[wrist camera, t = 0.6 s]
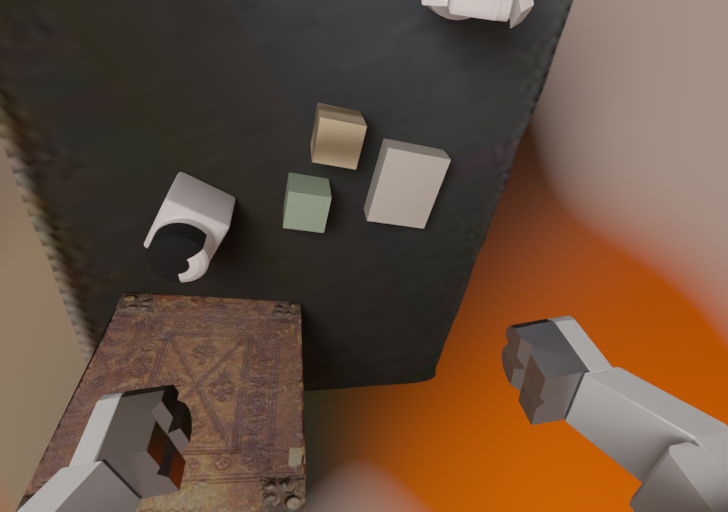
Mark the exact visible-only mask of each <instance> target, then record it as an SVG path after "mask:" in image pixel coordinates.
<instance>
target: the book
mask: <svg viewBox="0 0 728 512" xmlns="http://www.w3.org/2000/svg"><path fill="white" fill-rule="evenodd" d="M165 385H174V386H175V387H176V389H177V390H178V392H179V395H178V399H177V400H179V401H181V402H184V403H186V405H187V406H188V408H189V410H190V413H191V417H192V433H191V439H190V443H189V444H188V445H187V447H186V448H185V449H184V450H183V452H182V453H181V454H182V456H183V458H184V459H185V461H186V463H185V468H184V473H183V477H182V482H181V487H180V491H178V492H173V493H168V494H164V495H159V496H155V497H150V498H145V499H141V501H142V502H141V503H140V505H139V506H138V508H137V509H136V511H135V512H305V511H306V471H305V437H304V401H303V365H302V330H301V304H300V303H298V302H287V301H270V300H252V299H234V298H217V297H199V296H181V295H164V294H146V293H128V292H124V293H123V294H122V296H121V298H120V300H119V302H118V304H117V306H116V308H115V310H114V312H113V314H112V316H111V319H110V321H109V323H108V325H107V327H106V329H105V331H104V333H103V335H102V337H101V339H100V341H99V343H98V345H97V347H96V349H95V351H94V353H93V355H92V357H91V359H90V361H89V363H88V365H87V367H86V369H85V372H84V374H83V376H82V378H81V380H80V382H79V384H78V386H77V388H76V390H75V392H74V394H73V396H72V398H71V400H70V402H69V404H68V406H67V408H66V410H65V412H64V414H63V416H62V418H61V420H60V422H59V424H58V427H57V428H56V430H55V432H54V435H53V437H52V439H51V441H50V443H49V445H48V447H47V449H46V451H45V453H44V455H43V457H42V459H41V461H40V463H39V465H38V467H37V469H36V471H35V473H34V475H33V477H32V479H31V482H30V483H29V485H28V487H27V490H26V491H25V494H24V495H23V497H22V499H21V502H20V504H19V506H18V508H17V510H16V512H17V511H18V510H19V509H20V508H21V507H22V506H23V505H24V504H25V503H26V502H27V501H28V500H29V499H30V498H31V497H32V496H33V495H34V494H35V493H37V492H38V491H39V490H40V489H41V488H42V487H43V486H44V485H45V484H46V483H47V482H48V481H49V480H50V479H51V478H52V477H53V476H54V475H55V474H56V473H57V472H58V471H59V470H60V469H61V468H64V467H69V464H70V462H71V460H72V458H73V455H74V453H75V451H76V448H77V446H78V444H79V442H80V439H81V437H82V435H83V433H84V430H85V428H86V426H87V423H88V421H89V419H90V417H91V414H92V412H93V410H94V407H95V405H96V403H97V401H98V400H99V399H100V398H101V397H102V396H103V395H106V394H112V393H118V392H124V391H131V390H138V389H145V388H151V387H158V386H165Z"/></svg>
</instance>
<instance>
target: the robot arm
mask: <svg viewBox="0 0 728 512" xmlns="http://www.w3.org/2000/svg"><path fill="white" fill-rule="evenodd" d="M505 337H506V338H507V340H508V342H509V343H508V344H507V345H506V346H505V347H504V348H503V352H502V362H503V368H504V371H505V374H506V376H507V378H508V381H509V382H510V384H511V385H512V386H513V387H515V388H516V389H518V390H520V391H521V392H520V397H519V402H520V404H521V406H522V408H523V410H524V412H525V414H526V415H527V417H528V419H529V421H530V423H531V425H533V424H540V423H545V422H552V421H558V420H564V419H566V422H567V423H568V424H570V425H571V426H572V427H573V428H575V429H576V430H577V431H578V432H580V433H581V434H582V435H583V436H584V437H586V438H587V439H588V440H590V441H591V442H592V443H593V444H594V445H596V446H597V447H598V448H599V449H601V450H602V451H603V452H604V453H606V454H607V455H608V456H609V457H611V458H612V459H613V460H615V461H616V462H617V463H618V464H620V465H621V466H622V467H623V468H624V469H626V470H627V471H628V472H629V473H631V474H632V475H633V476H634V477H636V478H637V479H638V480H639V481H641V482H642V484H641V486H640V487H639V488H638V490H637V491H636V492H635V494H634V495H633V497H632V499H631V502H630V506H631V508H632V509H633V511H634V512H728V425H726V424H724V423H722V422H720V421H718V420H716V419H714V418H713V417H711V416H709V415H707V414H705V413H703V412H702V411H700V410H698V409H696V408H694V407H692V406H691V405H689V404H687V403H685V402H683V401H681V400H679V399H678V398H676V397H674V396H672V395H670V394H668V393H666V392H665V391H663V390H661V389H659V388H657V387H655V386H653V385H651V384H650V383H648V382H646V381H644V380H642V379H640V378H639V377H637V376H635V375H633V374H631V373H629V372H627V371H625V370H624V369H622V368H620V367H615V368H613V367H612V366H611V365H610V364H609V362H608V361H607V360H606V358H605V357H604V356H603V355H602V353H601V352H600V351H599V350H598V348H597V347H596V346H595V345H594V344H593V342H592V341H591V340H590V338H589V337H588V336H587V334H586V333H585V332H584V331H583V329H582V328H581V327H580V326H579V325H578V323H577V322H576V321H575V319H574V318H572V317H571V316H563V317H557V318H551V319H544V320H538V321H532V322H527V323H522V324H516V325H511V326H509V327H508V328H507V330H506V335H505ZM178 395H179V392H178V390H177V389H176V387H175V386H174V385H165V386H158V387H151V388H145V389H138V390H131V391H124V392H118V393H112V394H106V395H103V396H102V397H101V398H100V399H99V400H98V401H97V403H96V405H95V407H94V410H93V412H92V414H91V417H90V419H89V421H88V423H87V426H86V428H85V430H84V433H83V435H82V437H81V439H80V442H79V444H78V446H77V448H76V451H75V453H74V455H73V458H72V460H71V462H70V464H69V467H64V468H61V469H60V470H59V471H58V472H57V473H56V474H55V475H54V476H53V477H52V478H51V479H50V480H49V481H48V482H47V483H46V484H45V485H44V486H43V487H42V488H41V489H40V490H39V491H38V492H37V493H35V494H34V495H33V496H32V497H31V498H30V499H29V500H28V501H27V502H26V503H25V504H24V505H23V506H22V507H21V508H20V509H19V510H18V511H17V512H135V511H136V509H137V508H138V506H139V505H140V503H141V502H142V501H141V499H145V498H150V497H155V496H159V495H164V494H168V493H173V492H178V491H180V487H181V482H182V477H183V473H184V468H185V463H186V461H185V459H184V458H183V456H182V454H181V453H182V452H183V450H184V449H185V448H186V447H187V445H188V444H189V443H190V439H191V433H192V417H191V413H190V410H189V408H188V406H187V405H186V403H184V402H181V401H179V400H177V399H178Z"/></svg>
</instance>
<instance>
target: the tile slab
mask: <svg viewBox="0 0 728 512" xmlns="http://www.w3.org/2000/svg"><path fill="white" fill-rule="evenodd" d="M450 161H451V159H450V158H449V157H448V155H447V154H446V153H445V151H444V150H441V149H436V148H431V147H426V146H420V145H415V144H410V143H405V142H400V141H395V140H390V139H385V138H384V139H383V142H382V146H381V149H380V153H379V156H378V160H377V163H376V167H375V170H374V174H373V178H372V181H371V185H370V188H369V192H368V195H367V199H366V202H365V206H364V212H365V216H366V219H367V221H372V222H380V223H387V224H394V225H401V226H408V227H415V228H423V229H424V227H425V225H426V222H427V220H428V217H429V214H430V212H431V209H432V207H433V204H434V202H435V199H436V197H437V194H438V192H439V189H440V186H441V184H442V181H443V179H444V176H445V174H446V171H447V169H448V166H449V164H450Z"/></svg>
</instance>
